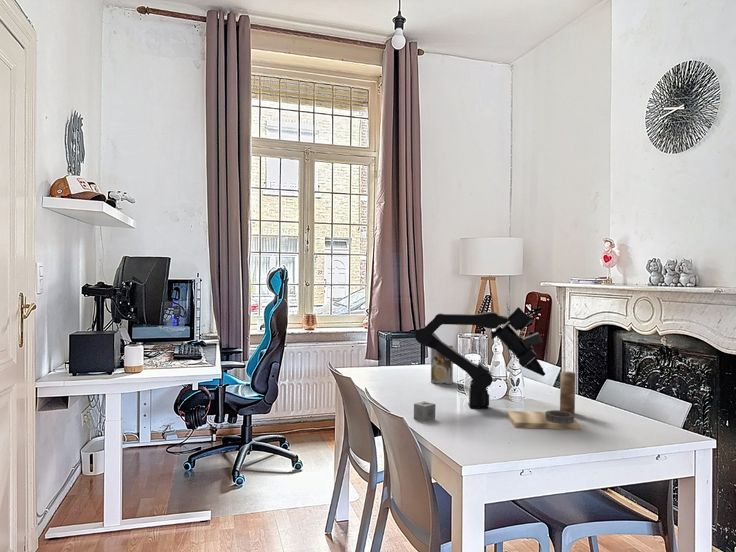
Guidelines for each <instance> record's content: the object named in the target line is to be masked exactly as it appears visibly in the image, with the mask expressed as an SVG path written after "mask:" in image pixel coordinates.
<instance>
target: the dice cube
mask: <svg viewBox="0 0 736 552" xmlns="http://www.w3.org/2000/svg"><path fill="white" fill-rule="evenodd" d="M413 419H415V420H418V421H420V420H421V422H424V423H426V421H427V422H430V421H434V420H436V403H433V402H429V401H428V402H427V401H419V402H415V403H413Z"/></svg>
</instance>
